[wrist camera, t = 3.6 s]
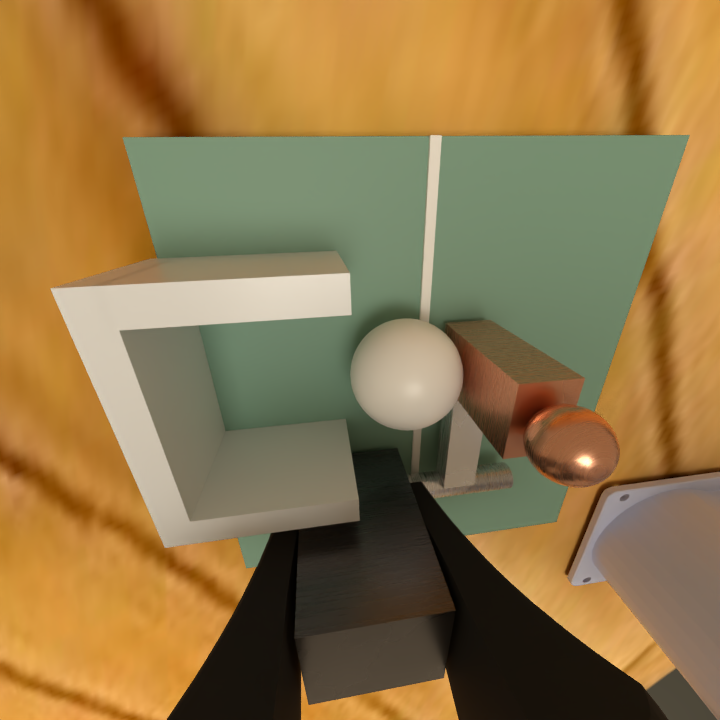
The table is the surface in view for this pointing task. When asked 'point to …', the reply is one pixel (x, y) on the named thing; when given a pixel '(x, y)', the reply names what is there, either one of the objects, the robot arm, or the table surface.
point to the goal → (210, 392)
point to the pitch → (415, 266)
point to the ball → (406, 374)
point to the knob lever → (408, 531)
